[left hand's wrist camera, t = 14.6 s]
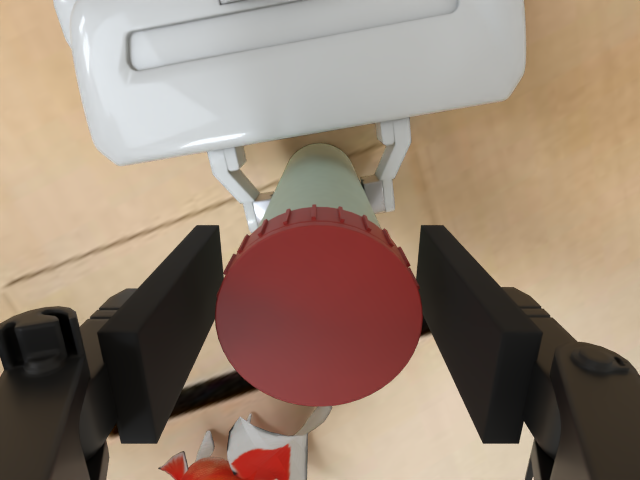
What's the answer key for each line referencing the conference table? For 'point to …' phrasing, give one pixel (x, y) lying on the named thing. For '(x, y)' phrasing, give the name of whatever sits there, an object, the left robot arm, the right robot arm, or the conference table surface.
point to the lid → (318, 307)
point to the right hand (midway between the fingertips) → (323, 219)
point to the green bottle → (319, 184)
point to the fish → (251, 454)
